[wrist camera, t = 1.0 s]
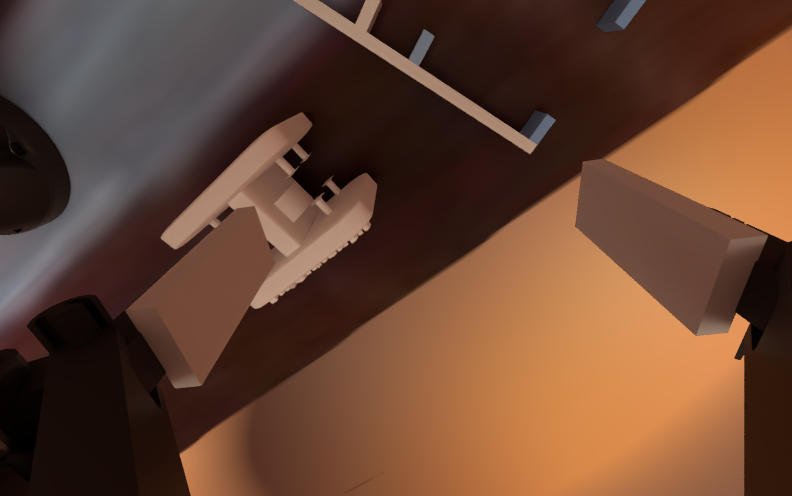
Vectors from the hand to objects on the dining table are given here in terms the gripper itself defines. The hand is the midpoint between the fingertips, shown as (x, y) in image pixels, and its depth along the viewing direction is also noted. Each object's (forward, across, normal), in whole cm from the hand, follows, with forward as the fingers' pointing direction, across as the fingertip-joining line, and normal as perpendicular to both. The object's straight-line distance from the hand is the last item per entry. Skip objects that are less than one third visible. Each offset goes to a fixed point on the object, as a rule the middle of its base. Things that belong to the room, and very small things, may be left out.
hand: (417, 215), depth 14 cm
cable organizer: (+23, -12, -5) cm, 27 cm away
